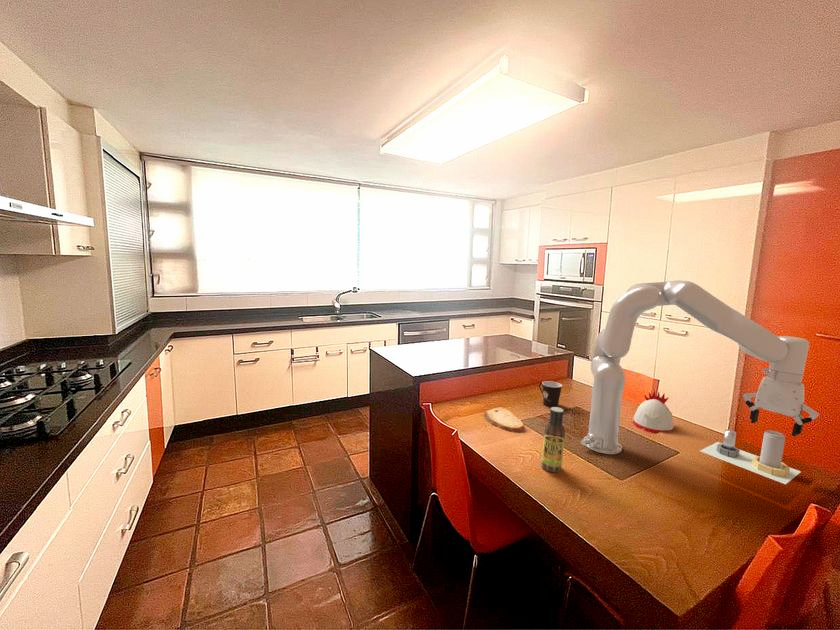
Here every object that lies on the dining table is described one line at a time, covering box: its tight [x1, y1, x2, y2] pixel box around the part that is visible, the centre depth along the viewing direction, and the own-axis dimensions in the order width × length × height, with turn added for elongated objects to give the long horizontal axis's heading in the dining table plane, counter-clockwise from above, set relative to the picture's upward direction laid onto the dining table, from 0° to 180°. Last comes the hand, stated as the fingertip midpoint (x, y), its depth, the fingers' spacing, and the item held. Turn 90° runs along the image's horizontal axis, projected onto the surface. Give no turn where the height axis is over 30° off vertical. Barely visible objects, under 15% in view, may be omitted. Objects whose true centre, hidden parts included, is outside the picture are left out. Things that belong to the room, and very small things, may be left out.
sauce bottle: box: [541, 407, 566, 473], centre depth 114 cm, size 6×6×20 cm
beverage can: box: [759, 429, 786, 469], centre depth 115 cm, size 5×5×12 cm
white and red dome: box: [632, 390, 674, 434], centre depth 147 cm, size 14×14×15 cm
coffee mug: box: [538, 380, 563, 408], centre depth 170 cm, size 12×9×10 cm
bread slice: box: [483, 406, 526, 433], centre depth 150 cm, size 18×18×4 cm
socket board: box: [699, 441, 802, 485], centre depth 120 cm, size 14×22×3 cm, turn 30°
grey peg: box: [722, 429, 737, 451], centre depth 124 cm, size 3×3×8 cm
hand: (773, 428), depth 114 cm, fingers open, 9 cm apart
